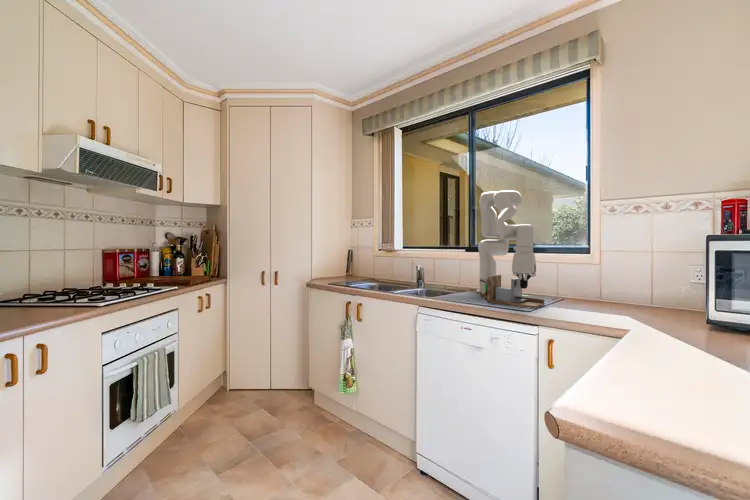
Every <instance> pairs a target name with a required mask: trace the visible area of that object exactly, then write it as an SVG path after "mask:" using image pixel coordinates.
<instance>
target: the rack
mask: <svg viewBox="0 0 750 500" xmlns="http://www.w3.org/2000/svg"><path fill="white" fill-rule="evenodd" d="M497 287H502V274H496V275H495V276H488V294H487V299H486V301H487V303H488V304H489V303H491V304H498V305H505V306H512V307H518V306H520V307H519V308H525V307H531V308H530V309H532V308H535V309H537V308H536V307H538V308H540V307H539V306H542V305H544V306H545V299H544V298H535V297H528V296H522V299H528V301H526V302H522V303H516V302H510V301H503V300H496V288H497ZM542 307H543V306H542Z"/></svg>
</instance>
